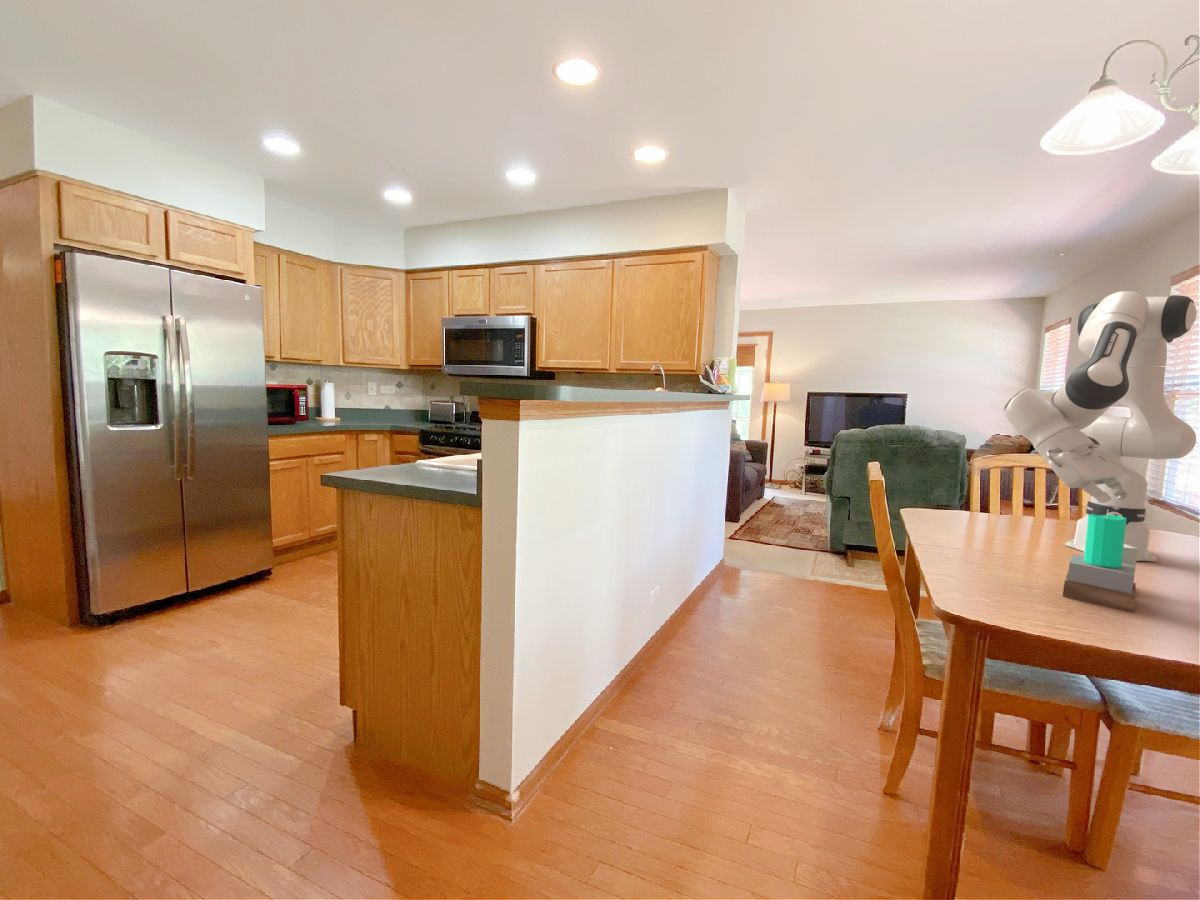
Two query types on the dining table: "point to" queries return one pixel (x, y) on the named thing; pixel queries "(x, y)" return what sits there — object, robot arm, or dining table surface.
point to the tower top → (1101, 575)
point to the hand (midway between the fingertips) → (1116, 499)
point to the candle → (1105, 540)
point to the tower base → (1100, 595)
